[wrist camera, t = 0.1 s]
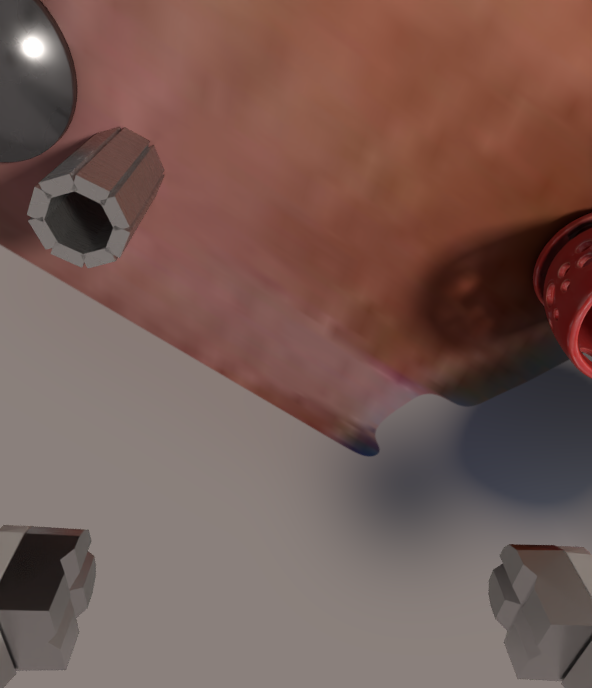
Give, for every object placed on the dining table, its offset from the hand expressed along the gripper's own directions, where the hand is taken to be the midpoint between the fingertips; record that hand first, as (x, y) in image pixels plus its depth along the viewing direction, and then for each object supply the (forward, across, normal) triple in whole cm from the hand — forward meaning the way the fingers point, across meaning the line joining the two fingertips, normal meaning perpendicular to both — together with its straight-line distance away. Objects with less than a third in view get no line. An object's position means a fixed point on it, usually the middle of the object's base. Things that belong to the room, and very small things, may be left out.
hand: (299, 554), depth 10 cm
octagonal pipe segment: (+39, +14, +2) cm, 42 cm away
